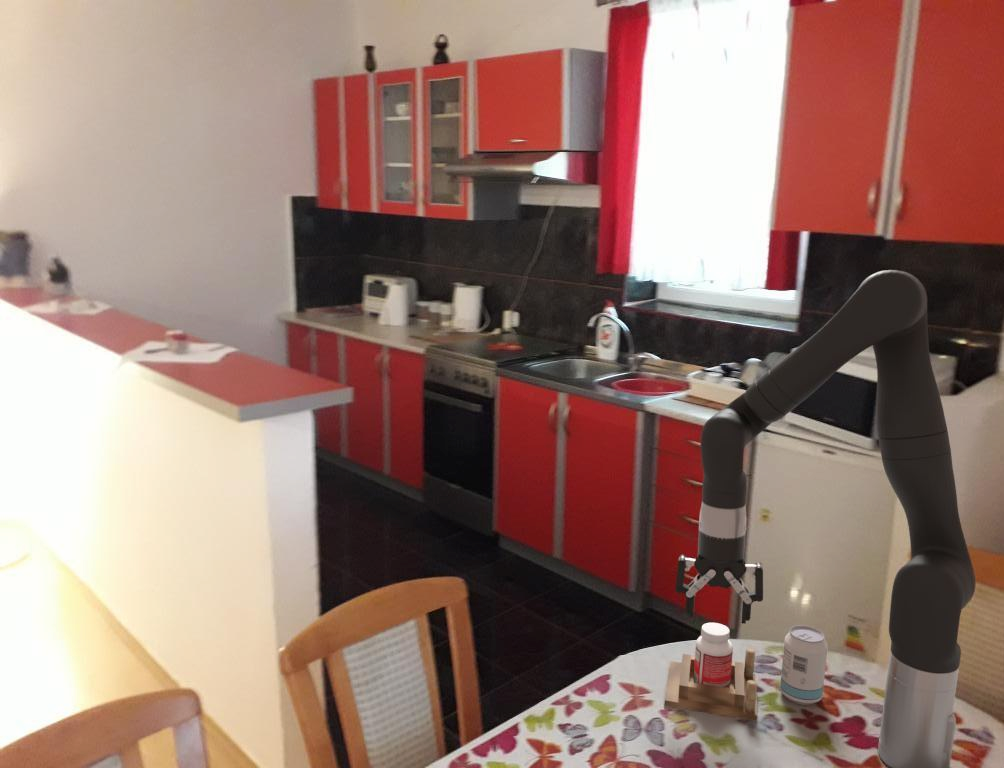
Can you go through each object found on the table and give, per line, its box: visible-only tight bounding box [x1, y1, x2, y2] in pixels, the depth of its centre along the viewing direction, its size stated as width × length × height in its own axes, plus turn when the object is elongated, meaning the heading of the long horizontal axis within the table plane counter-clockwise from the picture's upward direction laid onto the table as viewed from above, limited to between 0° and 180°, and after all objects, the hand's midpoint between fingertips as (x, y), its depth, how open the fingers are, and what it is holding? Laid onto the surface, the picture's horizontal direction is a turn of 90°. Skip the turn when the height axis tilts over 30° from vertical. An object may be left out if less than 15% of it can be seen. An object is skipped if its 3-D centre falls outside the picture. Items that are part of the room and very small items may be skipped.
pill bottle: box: [694, 622, 734, 688], centre depth 142 cm, size 6×6×11 cm
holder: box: [663, 648, 758, 722], centre depth 143 cm, size 15×13×6 cm
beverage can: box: [779, 625, 829, 706], centre depth 142 cm, size 7×7×12 cm
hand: (717, 618), depth 141 cm, fingers open, 8 cm apart
